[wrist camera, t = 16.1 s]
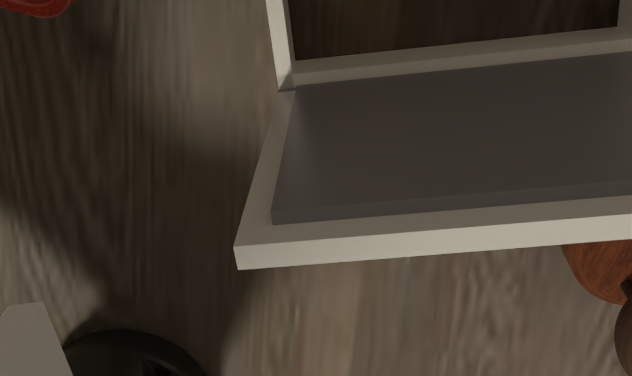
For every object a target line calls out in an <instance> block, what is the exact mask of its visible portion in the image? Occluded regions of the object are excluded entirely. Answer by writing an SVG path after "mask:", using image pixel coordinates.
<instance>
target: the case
mask: <svg viewBox="0 0 632 376" xmlns="http://www.w3.org/2000/svg"><path fill="white" fill-rule="evenodd" d="M266 6H267V13H268V19H269V26H270V33H271V40H272V47H273V54H274V61H275V67H276V74H277V81H278V88H279V91H278V96H277V99H276V102H275V106H274V109H273V113H272V116H271V119H270V123H269V126H268V130H267V133H266V137H265V140H264V143H263V147H262V150H261V154H260V157H259V160H258V164H257V167H256V171H255V174H254V177H253V181H252V184H251V188H250V191H249V194H248V198H247V201H246V205H245V208H244V211H243V215H242V218H241V222H240V225H239V228H238V232H237V235H236V239H235V242H234V245H233V249H234V253H235V258H236V263H237V268H238V270H246V269H258V268H271V267H284V266H296V265H309V264H321V263H334V262H347V261H359V260H372V259H384V258H397V257H410V256H422V255H435V254H447V253H460V252H473V251H485V250H498V249H510V248H523V247H535V246H548V245H561V244H573V243H586V242H598V241H611V240H624V239H632V0H620V4H619V13H618V22H617V27H609V28H600V29H590V30H581V31H571V32H562V33H552V34H543V35H534V36H524V37H515V38H505V39H496V40H486V41H477V42H468V43H458V44H449V45H439V46H430V47H421V48H411V49H402V50H392V51H383V52H373V53H364V54H355V55H345V56H336V57H326V58H317V59H307V60H298V61H295V53H294V46H293V38H292V30H291V23H290V15H289V7H288V0H266Z"/></svg>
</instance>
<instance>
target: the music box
mask: <svg viewBox="0 0 632 376" xmlns="http://www.w3.org/2000/svg"><path fill="white" fill-rule="evenodd" d="M561 248H562V251H563V253H564V255H565V257H566V259H567V261H568V263H569V265H570V267H571V269H572V271H573V273H574V275H575V277H576V279H577V280H578V281H579V283H580V284H581V285H582V286H583V287H584V288H585V289H586V290H587V291H588V292H590V293H591V294H592V295H594V296H596V297H598V298H600V299H602V300H604V301H607V302H610V303H613V304H618V305H623V307H622V309H621V311H620V313H619V315H618V318H617V321H616V325H615V332H614V342H615V348H616V352H617V356H618V358H619V361H620V363H621V365H622V367H623V368H624V370H625V372H626V373H627V374H628V376H632V239H624V240H611V241H598V242H586V243H573V244H561Z"/></svg>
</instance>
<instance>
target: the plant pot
mask: <svg viewBox="0 0 632 376" xmlns="http://www.w3.org/2000/svg"><path fill="white" fill-rule="evenodd" d="M75 1H76V0H0V7H1V8H5V9H9V10H13V11H16V12H20V13H24V14H28V15H31V16H35V17H39V18H52V17H56V16H58V15H60V14H62V13H63V12H64V11H66V10H67V9H68V8H69V7H70V6H71V5H72V4H73V3H74V2H75Z"/></svg>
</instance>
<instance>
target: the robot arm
mask: <svg viewBox="0 0 632 376" xmlns="http://www.w3.org/2000/svg"><path fill="white" fill-rule="evenodd" d="M0 376H206V375H205V373H204V372H203V370H202V369H201V368H200V366H199V365H198V364H197V363H196V362H195V361H194V360H193V359H192V358H191V357H190V356H189V355H188V354H186V353H185V352H184V351H182V350H181V349H179V348H178V347H176V346H174V345H173V344H171V343H169V342H167V341H164V340H162V339H160V338H157V337H154V336H151V335H147V334H143V333H138V332H132V331H106V332H99V333H95V334H91V335H88V336H86V337H83V338H81V339H79V340H77V341H75V342H74V343H72V344H71V345H69V346H68V347H67V348H66V349H65V350H64V351H63V350H62V347H61V345H60V342H59V340H58V338H57V335H56V333H55V330H54V328H53V325H52V323H51V320H50V318H49V316H48V313H47V311H46V308H45V306H44V303H43V302H35V303H26V304H17V305H9V306H8V307H7V309H6V310H5V311H4V312H3V314H2V315H1V316H0Z"/></svg>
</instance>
